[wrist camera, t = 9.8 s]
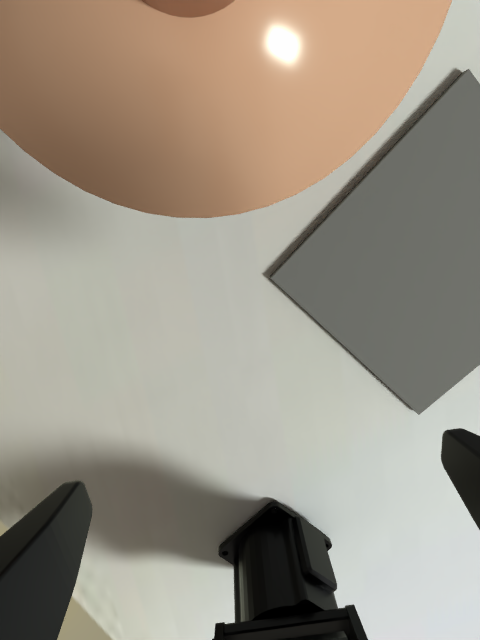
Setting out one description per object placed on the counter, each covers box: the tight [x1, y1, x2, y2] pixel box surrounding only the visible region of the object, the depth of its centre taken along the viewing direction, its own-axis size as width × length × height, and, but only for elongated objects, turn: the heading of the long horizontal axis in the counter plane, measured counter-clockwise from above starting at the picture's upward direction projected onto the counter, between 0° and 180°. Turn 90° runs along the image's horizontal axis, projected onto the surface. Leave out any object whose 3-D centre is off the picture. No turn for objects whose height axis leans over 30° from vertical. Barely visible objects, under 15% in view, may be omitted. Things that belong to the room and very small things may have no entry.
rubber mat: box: [270, 69, 480, 415], centre depth 20 cm, size 14×14×1 cm
